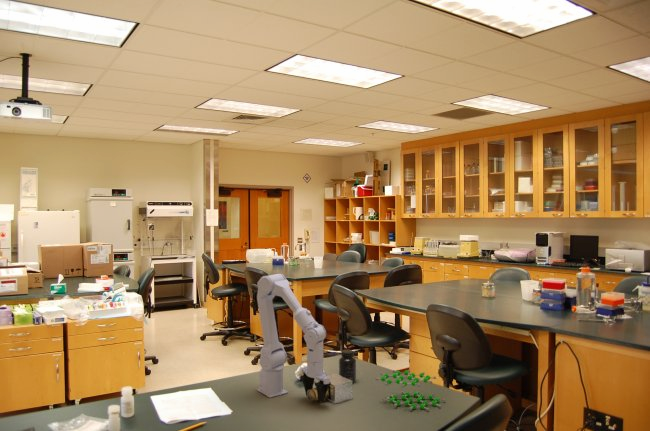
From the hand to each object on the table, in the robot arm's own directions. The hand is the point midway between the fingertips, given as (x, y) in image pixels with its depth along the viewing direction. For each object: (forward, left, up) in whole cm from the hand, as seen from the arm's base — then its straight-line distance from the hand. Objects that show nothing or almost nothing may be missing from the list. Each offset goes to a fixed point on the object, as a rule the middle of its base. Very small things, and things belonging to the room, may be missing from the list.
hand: (315, 398), depth 174 cm
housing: (0, +9, -1) cm, 9 cm away
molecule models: (+20, +27, -2) cm, 34 cm away
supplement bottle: (-10, +23, -2) cm, 25 cm away
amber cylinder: (0, +3, 0) cm, 3 cm away
